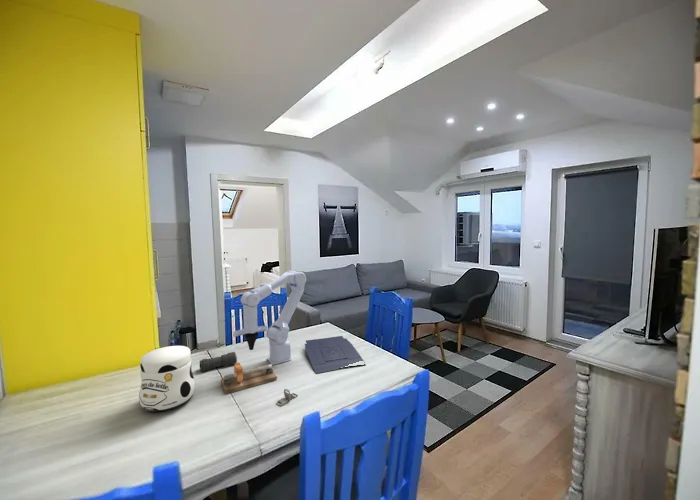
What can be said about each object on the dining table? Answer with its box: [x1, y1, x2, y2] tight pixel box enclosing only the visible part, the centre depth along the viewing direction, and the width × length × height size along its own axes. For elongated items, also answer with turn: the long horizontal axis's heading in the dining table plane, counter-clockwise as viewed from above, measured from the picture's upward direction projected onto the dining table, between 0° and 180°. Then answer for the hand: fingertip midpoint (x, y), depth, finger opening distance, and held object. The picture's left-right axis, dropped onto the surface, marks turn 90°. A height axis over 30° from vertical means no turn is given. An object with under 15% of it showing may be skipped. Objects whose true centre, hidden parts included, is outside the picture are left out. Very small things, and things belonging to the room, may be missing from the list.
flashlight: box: [199, 351, 238, 372], centre depth 136 cm, size 15×5×5 cm, turn 125°
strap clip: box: [275, 388, 298, 407], centre depth 110 cm, size 8×3×4 cm, turn 144°
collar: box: [233, 362, 244, 382], centre depth 120 cm, size 2×6×5 cm, turn 33°
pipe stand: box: [220, 363, 278, 395], centre depth 123 cm, size 20×10×5 cm, turn 123°
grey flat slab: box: [304, 335, 364, 374], centre depth 147 cm, size 24×30×4 cm
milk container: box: [138, 345, 196, 413], centre depth 108 cm, size 17×17×18 cm
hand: (251, 349), depth 133 cm, fingers closed
